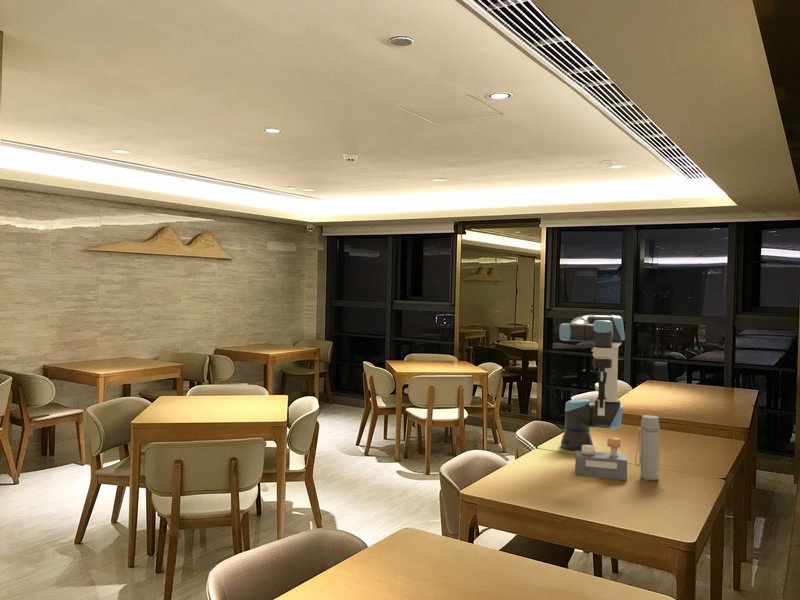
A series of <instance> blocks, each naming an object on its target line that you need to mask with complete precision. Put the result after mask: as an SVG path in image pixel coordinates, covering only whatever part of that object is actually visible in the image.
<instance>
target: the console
mask: <svg viewBox="0 0 800 600" xmlns="http://www.w3.org/2000/svg"><path fill="white" fill-rule="evenodd" d="M574 462H575V465H574V470H575V471H574V477H575V476H576V477H584V478H585V477H586V478H594V479H608V480H617V481H628V457H627V455H626V454H624V453H623V454H621V453H617V458H615V457H611V452H610V453H609V452H600V451H599V452H597V451H595V454H594V455H585V454H582V451H575V461H574Z"/></svg>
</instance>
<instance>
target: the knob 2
mask: <svg viewBox="0 0 800 600" xmlns="http://www.w3.org/2000/svg"><path fill="white" fill-rule="evenodd" d="M621 440H622V439H621V438H619V437H615V436H613V437H612V436H611V437H610V436H608V437H607V441H606V444H607V445H606V446H607V447H609V448H610V453H611V457H615V458H617V454H618V448H621V443H622V441H621Z"/></svg>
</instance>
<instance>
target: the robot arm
mask: <svg viewBox="0 0 800 600" xmlns="http://www.w3.org/2000/svg"><path fill="white" fill-rule="evenodd" d="M624 327H625V326H624V320H623V317H622V316H620V315H614V314H585V315H581V316H578V317H575V318H573V319H572V320H571V321H570V323H568V322H565V323H561V324H559V328H558V329H559V330H558V331H559V339H560V341H566V342H569V341H570V342H592V344H593V345H592V349H591V352H592V357H593V358H592V367H593V368H595V369H598V371H596V376H597V377H596V378H597V384H598V394H597V397H595V399H594V402H591V400H590V399H588V398H577V399H570V400H568V401H566V402H565V407H564V408H565V409H564V431H563V436H562V438H561V441H560V447H561V448H563V449H564V450H565V449H566V450H570V451H575V452H576V451H582V445H593V446H594V443H593V439H592V435H591V433H590V432H591V431H590V430H591V429H590V428H597V429H598V428H599V429H607V430H608V429H609V430H610V429H611V430H619V429H620V427H621V423H622V419H623V418H622V417H623V410H624V405H623V404H622V403H621V400H620V399H619V397H618V373H619V372H618V370H619V368H618V365H619V347H620V346H621V345H622V344H623V343H622V341H625V340H626V336H625V329H624Z"/></svg>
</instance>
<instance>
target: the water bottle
mask: <svg viewBox="0 0 800 600" xmlns="http://www.w3.org/2000/svg"><path fill="white" fill-rule="evenodd" d="M660 431H661V427H660V418H659V416H657V415H650V414H648V415H647V414H644V415H642V416H641V421H640V427H638V437H637V438H638V439H637V445H636V453H635V461H637V456H638V452H639V451H638V450H640V459H639V463H638V464H637V462H635V466H636V467H640V469H639V471H640V478H641V479H643V480H646V481H657V480H659V478H660V438H661V437H660V435H661V434H660Z"/></svg>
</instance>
